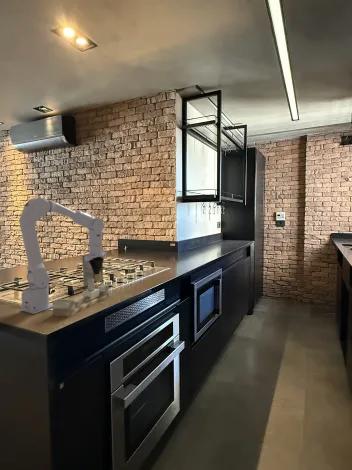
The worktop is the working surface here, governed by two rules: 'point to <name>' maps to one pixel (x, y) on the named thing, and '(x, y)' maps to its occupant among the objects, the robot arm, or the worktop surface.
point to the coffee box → (91, 273)
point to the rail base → (78, 303)
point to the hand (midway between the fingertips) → (96, 274)
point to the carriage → (91, 290)
